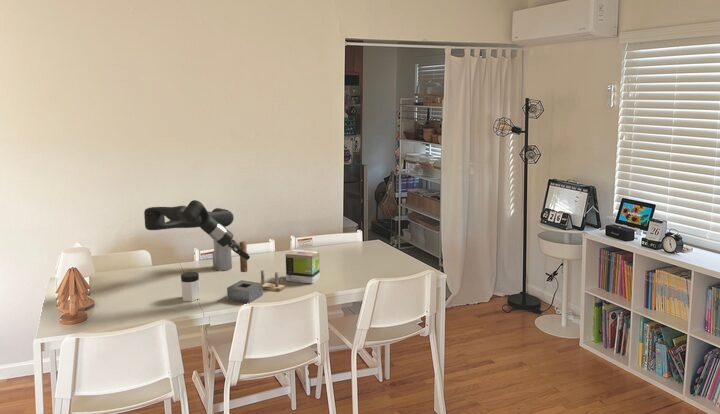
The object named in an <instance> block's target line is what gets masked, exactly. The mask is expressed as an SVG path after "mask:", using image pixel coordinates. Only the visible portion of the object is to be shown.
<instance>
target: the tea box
mask: <svg viewBox="0 0 720 414" xmlns="http://www.w3.org/2000/svg"><path fill="white" fill-rule="evenodd" d="M320 272H321V271H320V251H318V250H308V249H307V250H306V249H304V250H303V249H294V248H293V249H291V250H290V251H288V252H286V253H285V273H286V274H285V277H286V279H285V281H286V282H296V283H306V284H314V283H315V282H317V281H318V280H319V279H320V276H321V275H320V274H321V273H320Z"/></svg>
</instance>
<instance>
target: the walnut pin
mask: <svg viewBox="0 0 720 414" xmlns="http://www.w3.org/2000/svg"><path fill="white" fill-rule="evenodd" d="M238 244H239V245H240V247H241V249H242V250H243V251H244V252H245V253H246V254H247V253H248V250H247V246H248V245H247V241H239V243H238ZM240 252H241V251H240ZM239 260H240V261H239V266H240V267H239V268H240V272H241V273H247V272H248V260H246V259H245V258H243V257H242V256H239Z"/></svg>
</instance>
